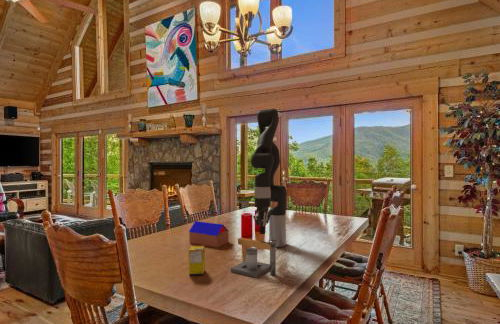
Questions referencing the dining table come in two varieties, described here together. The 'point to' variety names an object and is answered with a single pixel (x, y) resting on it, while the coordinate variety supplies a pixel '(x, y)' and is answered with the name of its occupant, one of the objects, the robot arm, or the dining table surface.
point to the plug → (251, 258)
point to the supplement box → (196, 260)
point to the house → (208, 234)
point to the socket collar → (253, 273)
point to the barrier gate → (263, 245)
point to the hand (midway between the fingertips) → (262, 233)
